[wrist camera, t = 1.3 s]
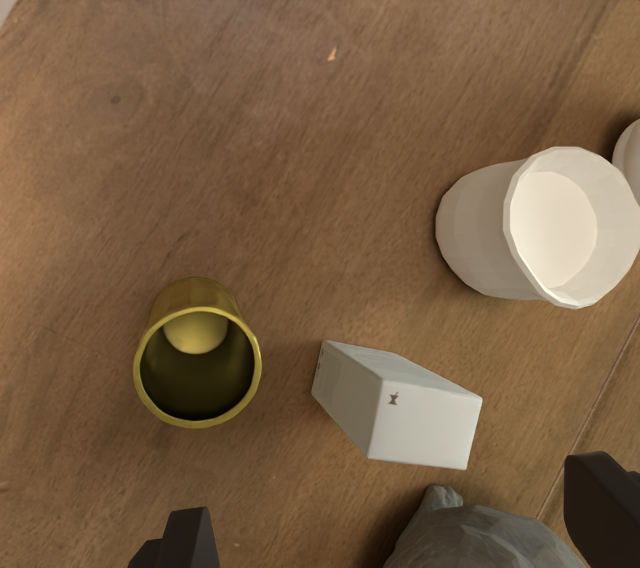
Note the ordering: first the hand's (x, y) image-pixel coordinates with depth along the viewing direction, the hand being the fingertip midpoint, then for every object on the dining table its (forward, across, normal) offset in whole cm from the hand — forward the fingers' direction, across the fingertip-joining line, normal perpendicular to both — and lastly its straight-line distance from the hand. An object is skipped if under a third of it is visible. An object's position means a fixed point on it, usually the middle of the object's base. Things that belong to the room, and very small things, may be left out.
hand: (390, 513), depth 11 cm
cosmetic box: (+25, -2, +9) cm, 27 cm away
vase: (+24, +9, +3) cm, 26 cm away
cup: (+29, -14, 0) cm, 32 cm away
